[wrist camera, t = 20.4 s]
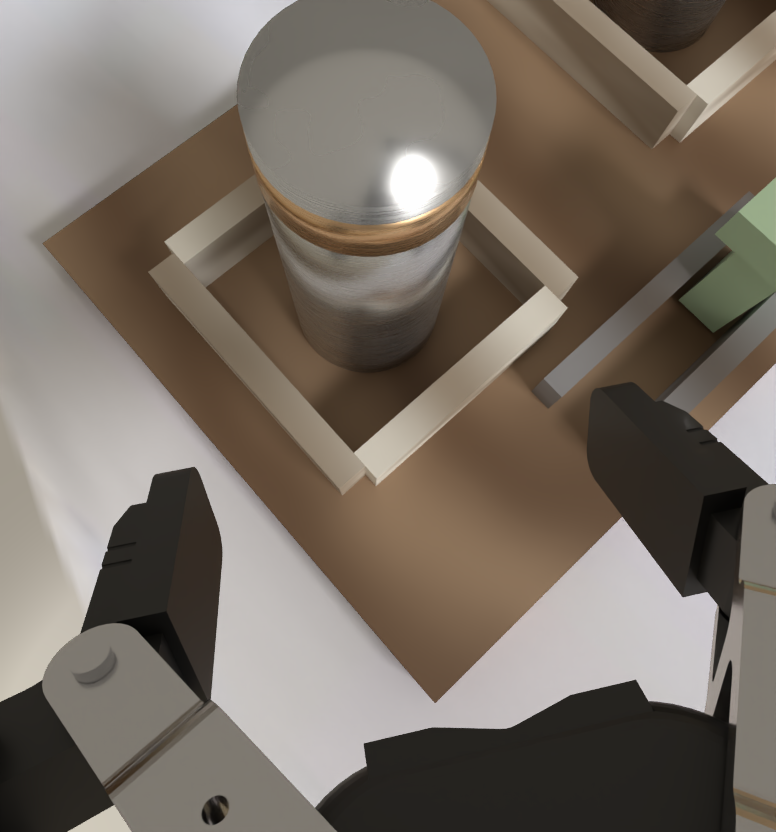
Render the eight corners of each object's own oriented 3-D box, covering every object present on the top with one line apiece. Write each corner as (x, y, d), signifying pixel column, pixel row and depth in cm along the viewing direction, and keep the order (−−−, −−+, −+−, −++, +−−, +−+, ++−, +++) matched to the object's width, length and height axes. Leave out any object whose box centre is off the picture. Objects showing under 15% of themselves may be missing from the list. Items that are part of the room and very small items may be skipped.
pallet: (613, -136, 28) (646, -232, 25) (970, 156, 25) (1064, 93, 22) (63, 263, 23) (9, 212, 19) (430, 692, 20) (442, 720, 16)
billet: (373, 216, 22) (377, -57, 12) (466, 311, 21) (551, 103, 11) (267, 299, 21) (181, 78, 11) (361, 402, 20) (356, 260, 11)
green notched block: (719, 231, 22) (811, 144, 17) (788, 293, 21) (901, 221, 17) (659, 285, 21) (738, 211, 17) (728, 351, 21) (829, 293, 16)
